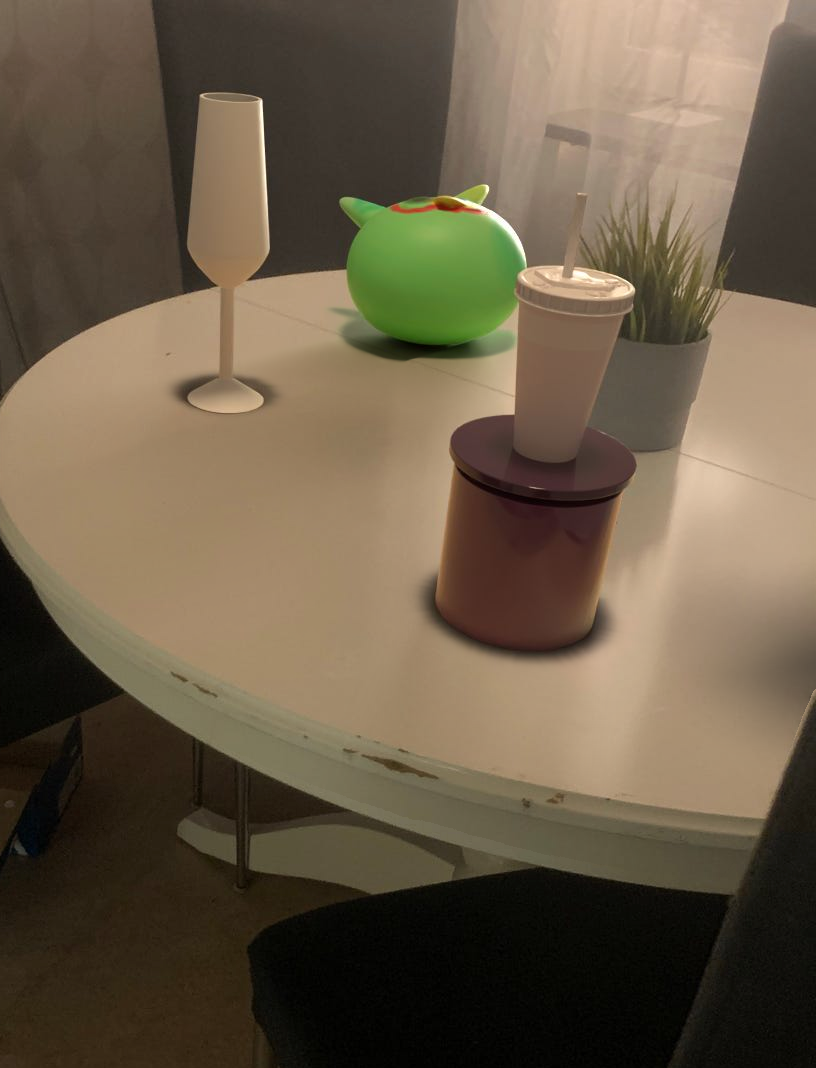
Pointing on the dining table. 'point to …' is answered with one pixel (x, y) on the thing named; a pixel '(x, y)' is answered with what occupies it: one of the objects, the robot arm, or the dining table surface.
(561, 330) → the smoothie
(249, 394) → the champagne flute
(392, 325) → the green rounded blob
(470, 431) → the jar
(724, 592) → the dining table surface
